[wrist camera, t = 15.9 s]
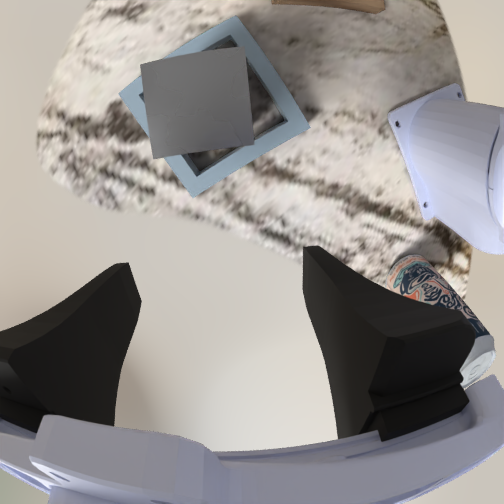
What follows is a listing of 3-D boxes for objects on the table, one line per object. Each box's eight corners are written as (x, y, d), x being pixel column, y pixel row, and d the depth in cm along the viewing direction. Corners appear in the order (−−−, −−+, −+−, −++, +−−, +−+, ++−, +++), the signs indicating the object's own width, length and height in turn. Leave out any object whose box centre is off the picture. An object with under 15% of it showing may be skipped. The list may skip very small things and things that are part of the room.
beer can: (421, 242, 22) (505, 333, 11) (429, 279, 24) (495, 368, 13) (377, 268, 23) (446, 375, 12) (389, 303, 25) (445, 403, 14)
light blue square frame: (305, 126, 17) (310, 127, 16) (196, 191, 19) (192, 198, 18) (236, 22, 14) (236, 15, 12) (126, 93, 16) (118, 93, 14)
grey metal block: (242, 71, 16) (244, 46, 8) (248, 129, 17) (254, 145, 10) (180, 80, 16) (140, 64, 9) (187, 137, 17) (153, 159, 10)
